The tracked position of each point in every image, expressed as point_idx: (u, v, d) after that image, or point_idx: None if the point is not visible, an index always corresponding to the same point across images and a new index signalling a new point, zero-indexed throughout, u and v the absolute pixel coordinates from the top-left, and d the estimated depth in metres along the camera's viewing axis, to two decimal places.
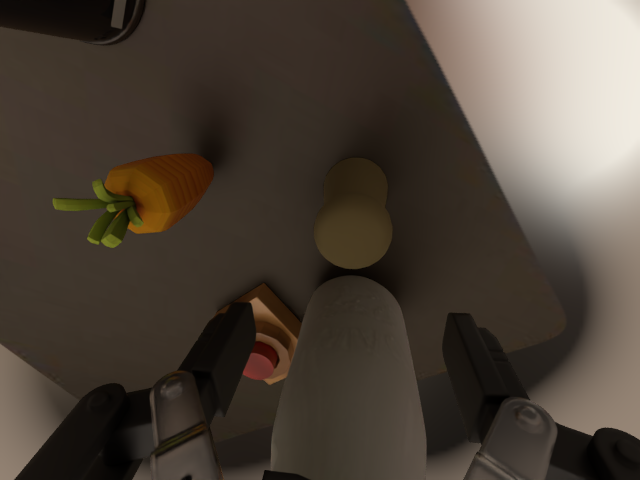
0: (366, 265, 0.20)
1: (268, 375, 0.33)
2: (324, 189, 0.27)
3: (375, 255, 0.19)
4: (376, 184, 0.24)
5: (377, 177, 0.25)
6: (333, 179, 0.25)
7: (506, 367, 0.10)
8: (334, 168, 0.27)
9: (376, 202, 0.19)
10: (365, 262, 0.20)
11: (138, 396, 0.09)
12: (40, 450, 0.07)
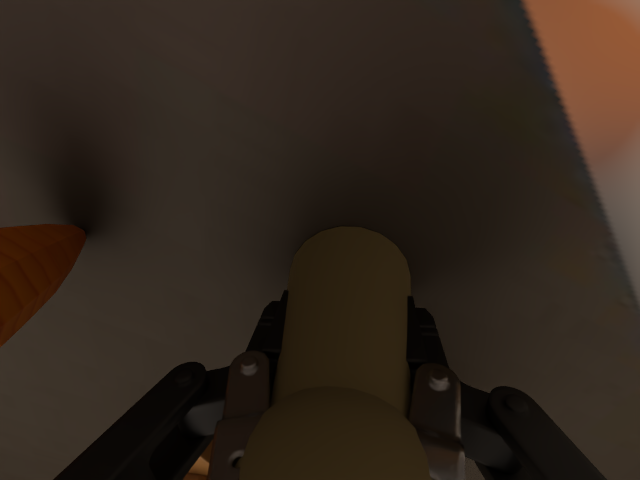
0: None
1: None
2: None
3: None
4: (393, 310, 0.11)
5: (393, 282, 0.12)
6: (301, 286, 0.12)
7: (435, 340, 0.11)
8: (307, 248, 0.14)
9: (408, 470, 0.06)
10: None
11: (214, 374, 0.10)
12: (132, 408, 0.08)
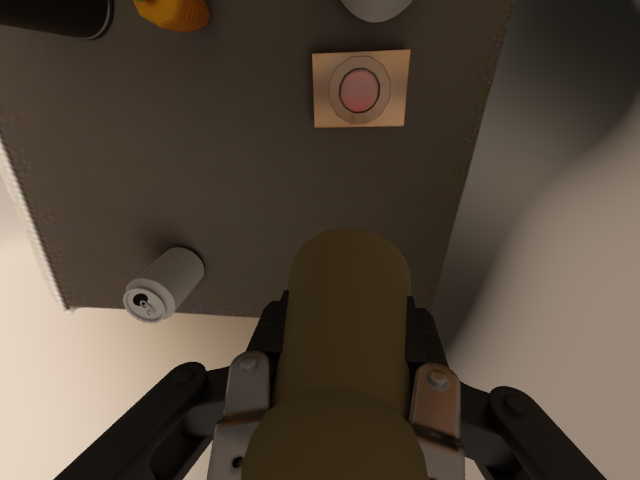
0: None
1: (375, 86, 0.33)
2: None
3: None
4: (393, 312, 0.11)
5: (393, 283, 0.12)
6: (301, 287, 0.12)
7: (435, 340, 0.11)
8: (307, 249, 0.14)
9: (408, 472, 0.06)
10: None
11: (214, 375, 0.10)
12: (132, 408, 0.08)
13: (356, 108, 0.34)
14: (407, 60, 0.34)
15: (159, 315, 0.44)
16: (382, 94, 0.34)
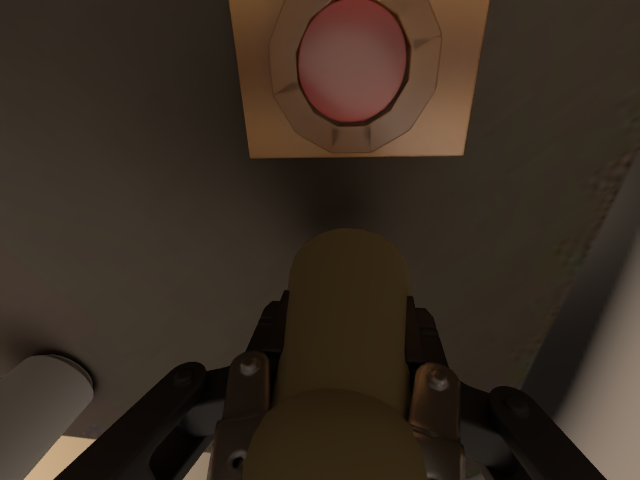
0: None
1: (399, 49, 0.11)
2: None
3: None
4: (393, 312, 0.11)
5: (393, 284, 0.12)
6: (301, 287, 0.12)
7: (435, 340, 0.11)
8: (307, 250, 0.14)
9: (408, 472, 0.06)
10: None
11: (214, 374, 0.10)
12: (132, 408, 0.08)
13: (343, 114, 0.12)
14: None
15: None
16: (416, 74, 0.12)
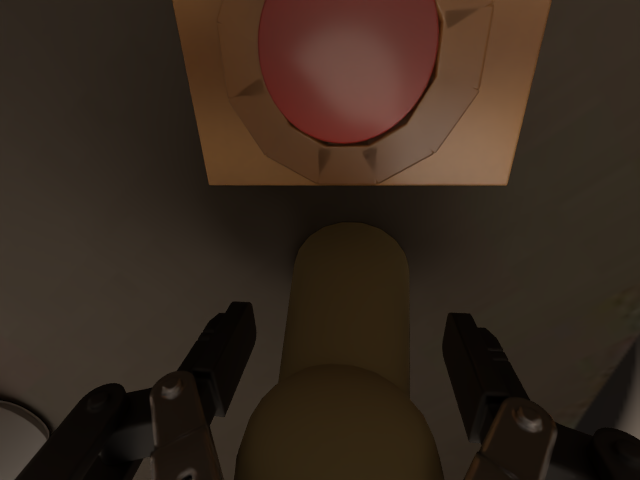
0: None
1: (427, 23, 0.06)
2: (292, 283, 0.14)
3: None
4: (392, 299, 0.11)
5: (392, 274, 0.13)
6: (305, 277, 0.13)
7: (506, 367, 0.10)
8: (311, 243, 0.15)
9: (403, 432, 0.07)
10: None
11: (138, 396, 0.09)
12: (40, 450, 0.07)
13: (334, 131, 0.08)
14: None
15: None
16: (449, 68, 0.08)
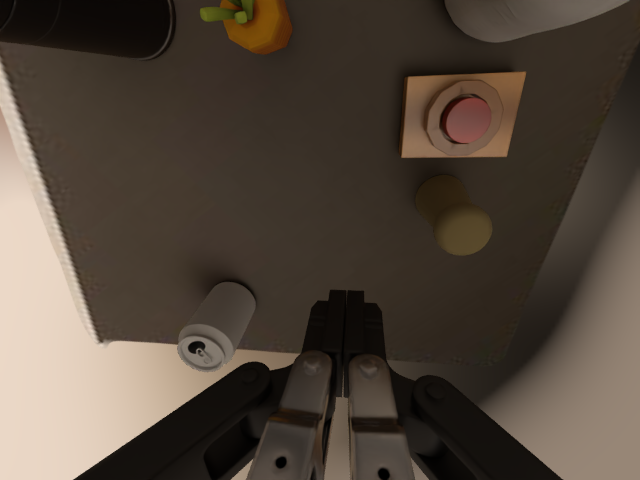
0: (472, 252, 0.29)
1: (488, 116, 0.28)
2: (421, 198, 0.36)
3: (481, 245, 0.29)
4: (467, 196, 0.33)
5: (464, 190, 0.34)
6: (433, 191, 0.35)
7: (378, 333, 0.11)
8: (428, 183, 0.37)
9: (482, 210, 0.29)
10: (473, 250, 0.29)
11: (274, 374, 0.10)
12: (199, 395, 0.08)
13: (462, 140, 0.29)
14: (521, 84, 0.29)
15: (216, 363, 0.40)
16: (491, 123, 0.30)
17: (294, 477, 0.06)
